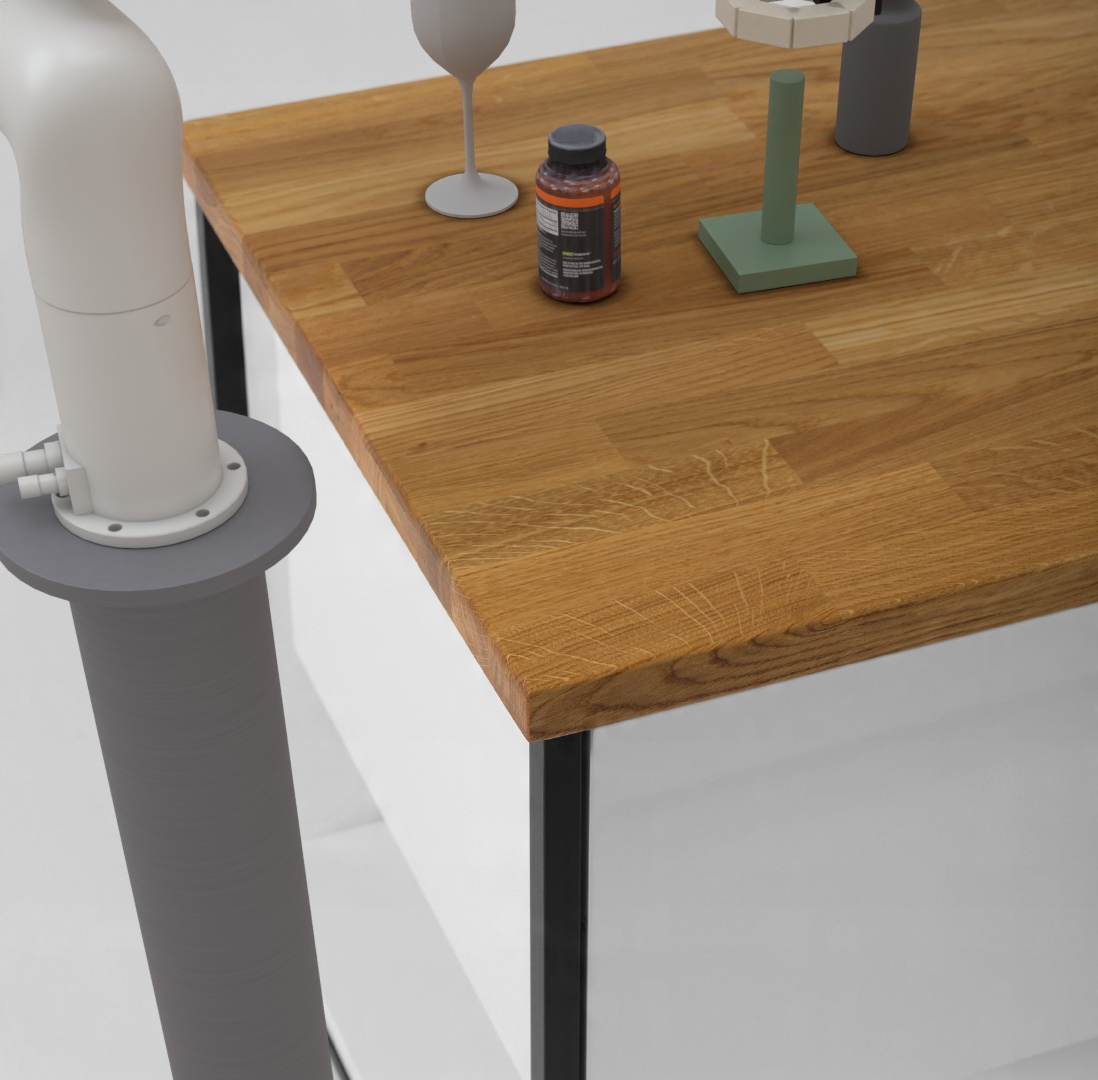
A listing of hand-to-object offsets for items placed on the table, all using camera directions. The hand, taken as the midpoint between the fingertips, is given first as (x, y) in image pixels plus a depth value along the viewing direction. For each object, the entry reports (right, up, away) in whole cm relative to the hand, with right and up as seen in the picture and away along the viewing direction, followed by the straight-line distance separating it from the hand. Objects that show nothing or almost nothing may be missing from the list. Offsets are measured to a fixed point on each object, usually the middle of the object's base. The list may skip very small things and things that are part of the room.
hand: (848, 8), depth 139 cm
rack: (-4, -14, +11) cm, 18 cm away
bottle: (+6, -1, +25) cm, 26 cm away
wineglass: (-26, -7, +19) cm, 33 cm away
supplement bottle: (-18, -17, +9) cm, 26 cm away
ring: (-4, -1, -1) cm, 4 cm away
